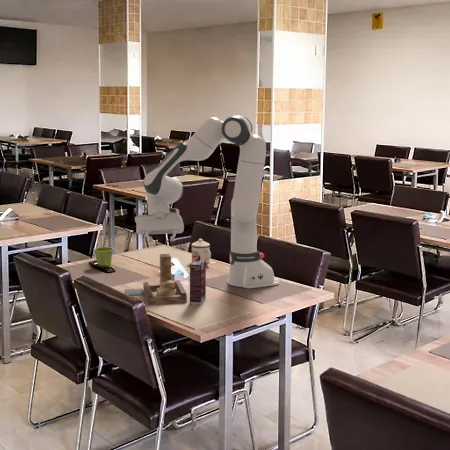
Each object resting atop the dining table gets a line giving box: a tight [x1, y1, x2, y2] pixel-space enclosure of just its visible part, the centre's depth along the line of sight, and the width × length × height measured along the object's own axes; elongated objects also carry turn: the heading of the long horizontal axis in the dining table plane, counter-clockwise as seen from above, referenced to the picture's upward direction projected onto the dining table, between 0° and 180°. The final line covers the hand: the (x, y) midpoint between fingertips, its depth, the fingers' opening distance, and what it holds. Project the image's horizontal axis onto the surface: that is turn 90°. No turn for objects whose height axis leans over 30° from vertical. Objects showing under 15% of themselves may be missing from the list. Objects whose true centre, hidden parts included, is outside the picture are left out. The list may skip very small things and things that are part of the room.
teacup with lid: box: [191, 238, 212, 265], centre depth 320 cm, size 12×9×12 cm
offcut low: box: [156, 288, 177, 296], centre depth 264 cm, size 7×5×4 cm
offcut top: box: [159, 279, 175, 291], centre depth 264 cm, size 5×4×3 cm
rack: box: [142, 279, 188, 305], centre depth 268 cm, size 15×20×4 cm
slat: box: [159, 253, 172, 282], centre depth 270 cm, size 4×4×16 cm
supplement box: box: [189, 260, 207, 305], centre depth 259 cm, size 9×5×16 cm, turn 168°
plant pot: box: [93, 246, 114, 268], centre depth 312 cm, size 9×9×9 cm
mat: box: [124, 287, 145, 296], centre depth 272 cm, size 7×8×1 cm
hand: (161, 241), depth 279 cm, fingers open, 8 cm apart
